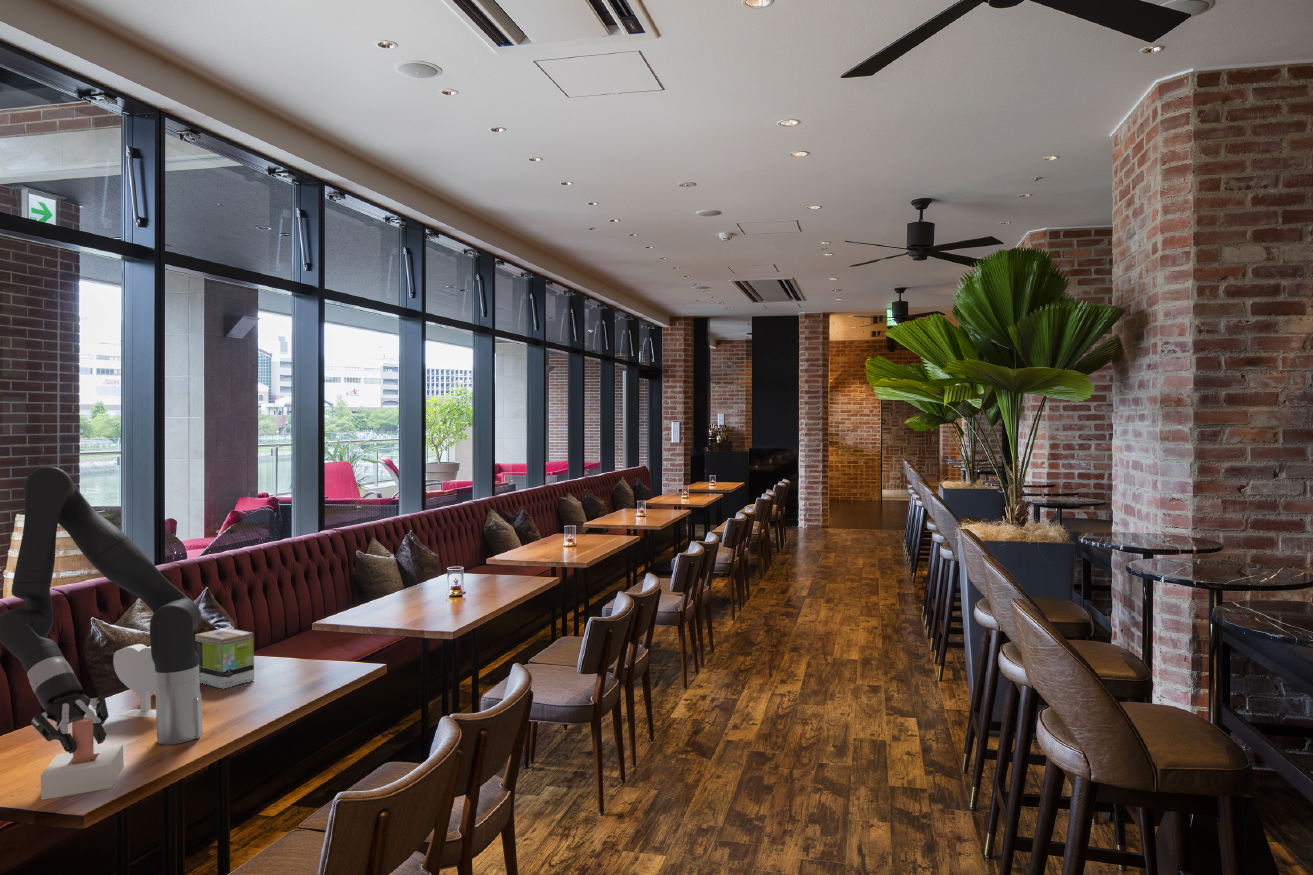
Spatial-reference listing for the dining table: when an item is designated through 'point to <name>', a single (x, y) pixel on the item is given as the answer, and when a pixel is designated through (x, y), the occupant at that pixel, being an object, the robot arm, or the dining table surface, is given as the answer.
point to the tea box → (225, 657)
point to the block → (82, 773)
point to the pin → (83, 740)
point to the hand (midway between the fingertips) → (88, 745)
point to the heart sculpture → (137, 676)
